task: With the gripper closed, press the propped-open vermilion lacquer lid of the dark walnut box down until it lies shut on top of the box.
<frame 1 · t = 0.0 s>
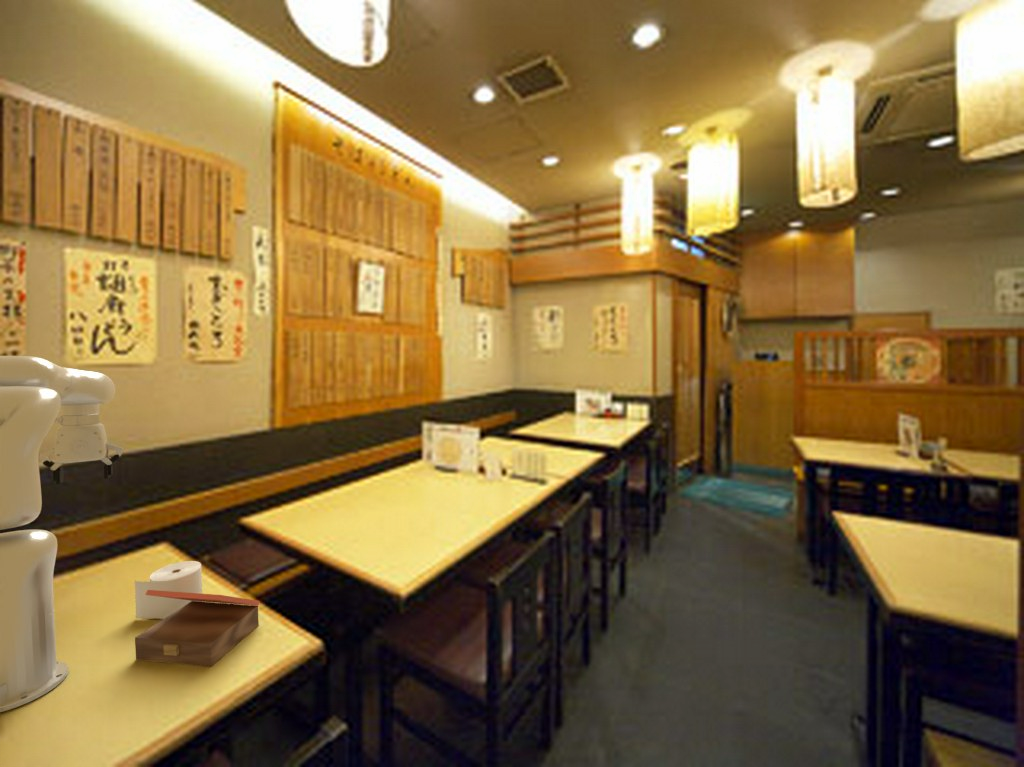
hand: (84, 480, 118), 31 cm above the table, tool pointing down, fingers open, 9 cm apart
lid: (205, 598, 97), point 9 cm above the table, hinge at 35.0°
toilet tissue: (174, 609, 109), on the table
walnut box: (201, 641, 96), on the table
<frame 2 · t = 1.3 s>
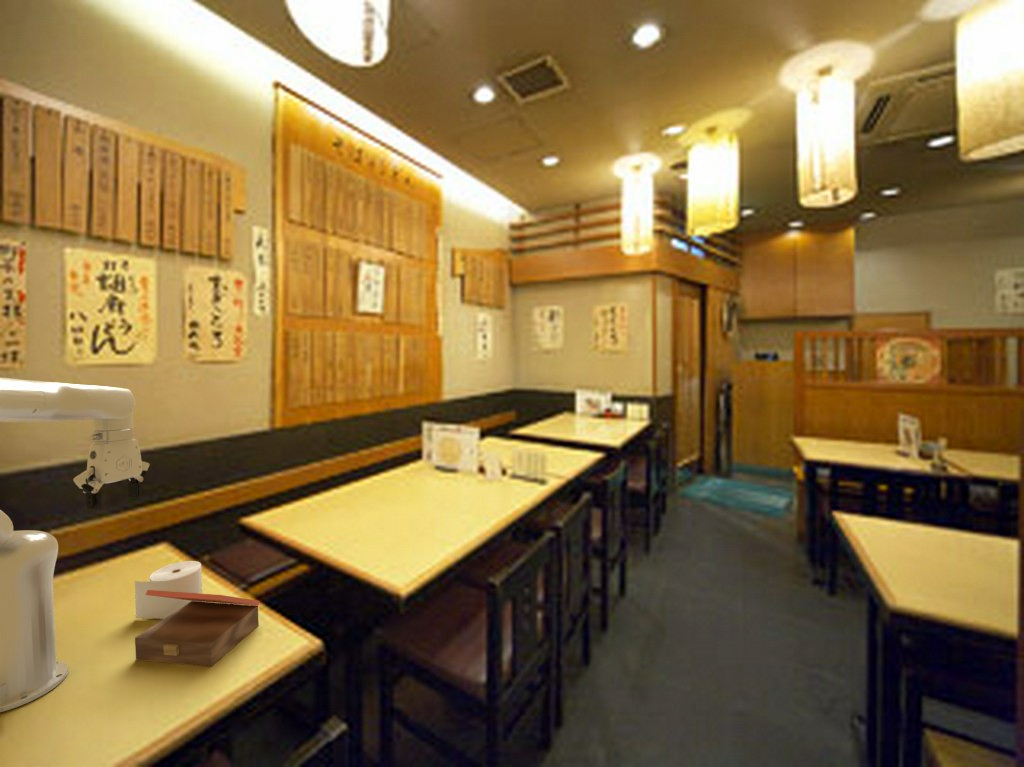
hand: (115, 502, 107), 29 cm above the table, tool pointing down, fingers open, 9 cm apart
nothing on the table moved.
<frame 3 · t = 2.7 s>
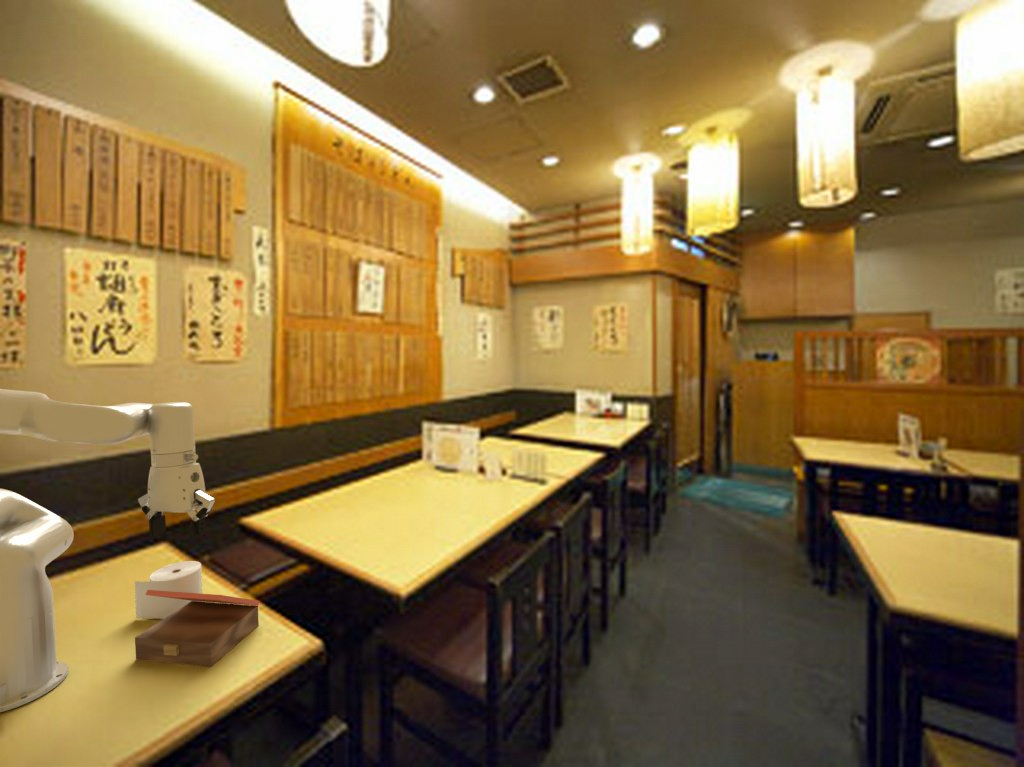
hand: (178, 535, 91), 27 cm above the table, tool pointing down, fingers open, 9 cm apart
nothing on the table moved.
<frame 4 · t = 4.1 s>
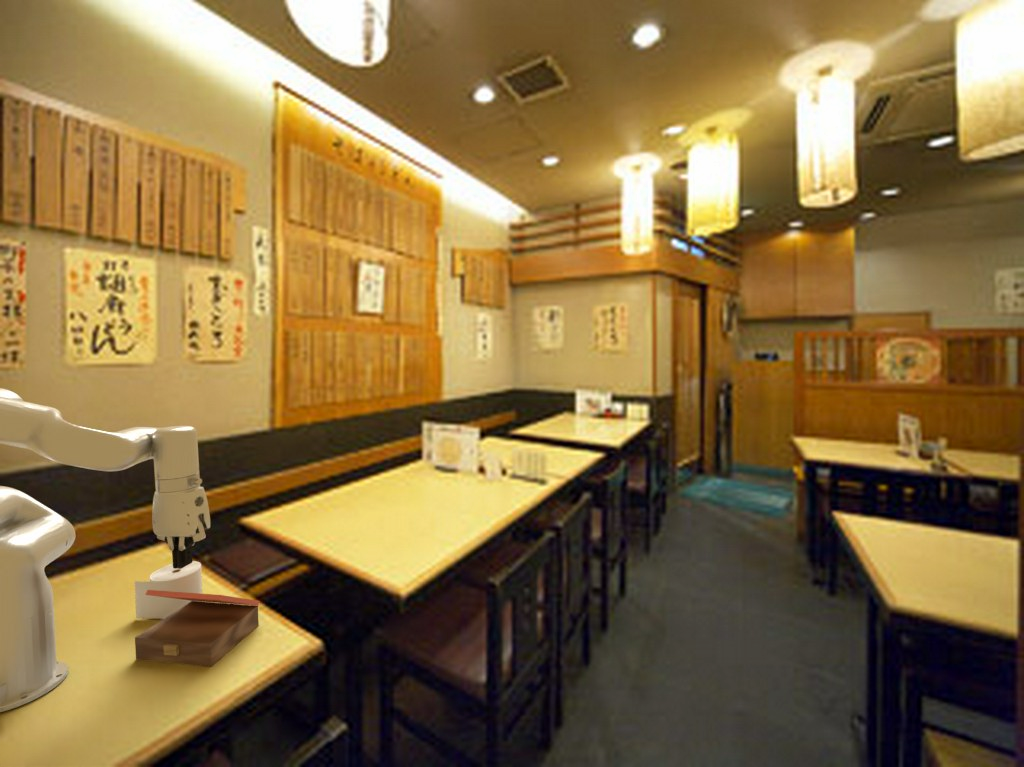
hand: (183, 565, 91), 20 cm above the table, tool pointing down, fingers closed
nothing on the table moved.
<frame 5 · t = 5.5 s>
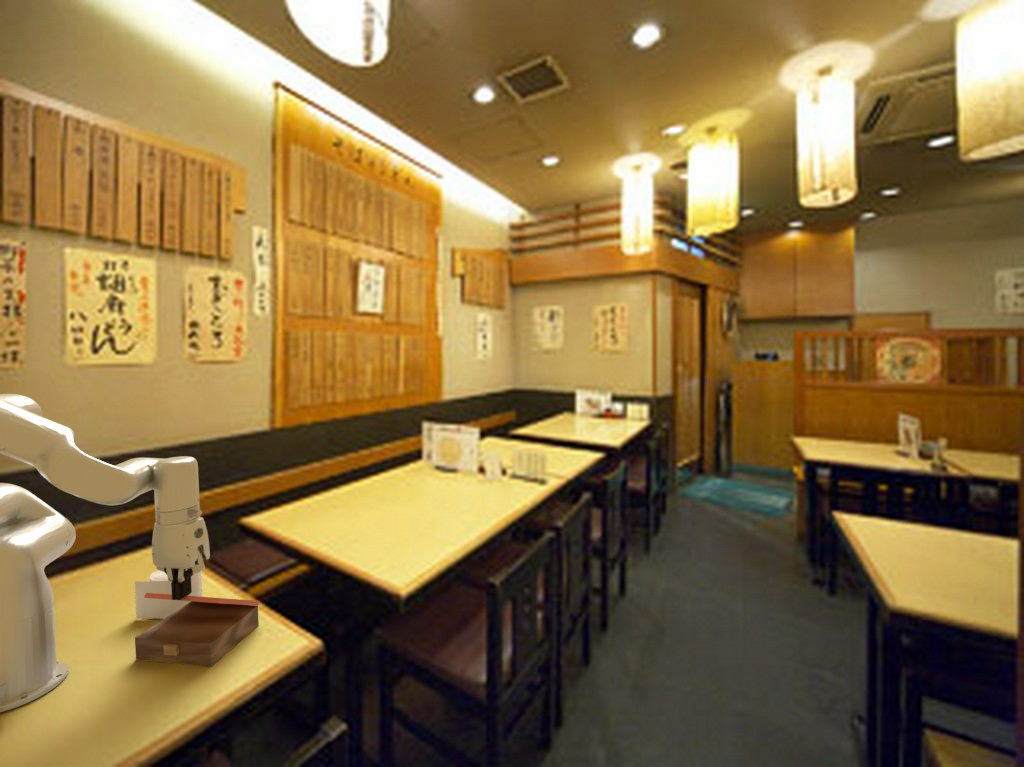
hand: (182, 596, 91), 13 cm above the table, tool pointing down, fingers closed
lid: (204, 599, 97), point 9 cm above the table, hinge at 32.5°, touching gripper
everything else where it was.
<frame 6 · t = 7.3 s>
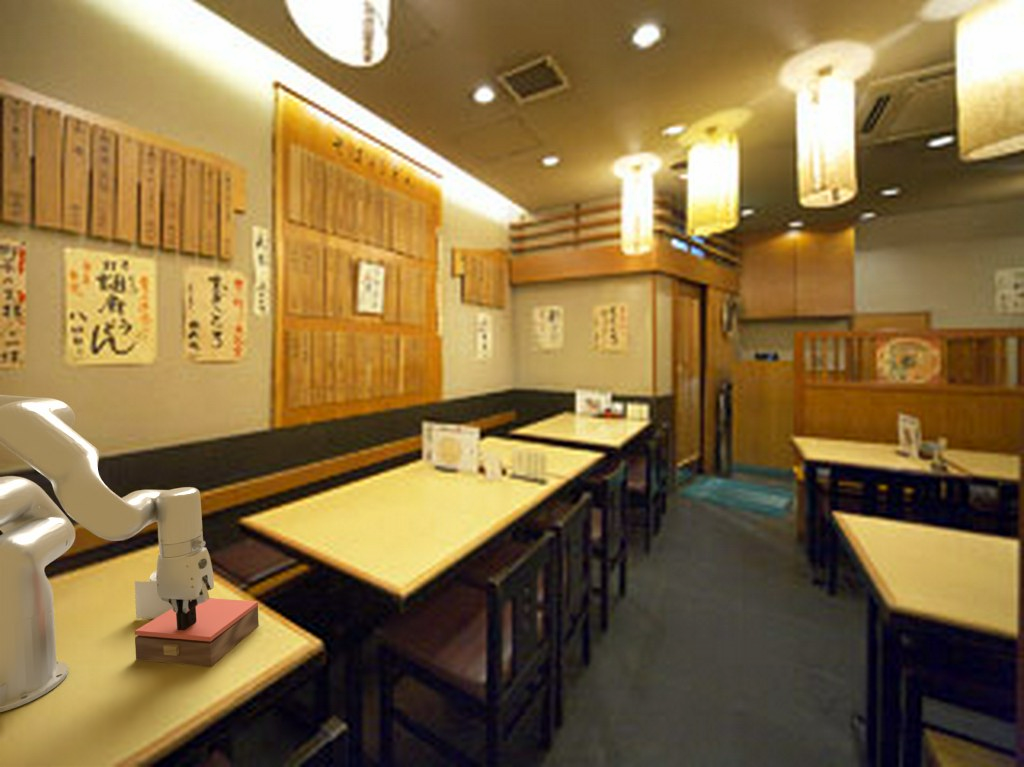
hand: (187, 626, 92), 6 cm above the table, tool pointing down, fingers closed
lid: (200, 617, 96), point 6 cm above the table, hinge at 1.9°, touching gripper
everything else where it was.
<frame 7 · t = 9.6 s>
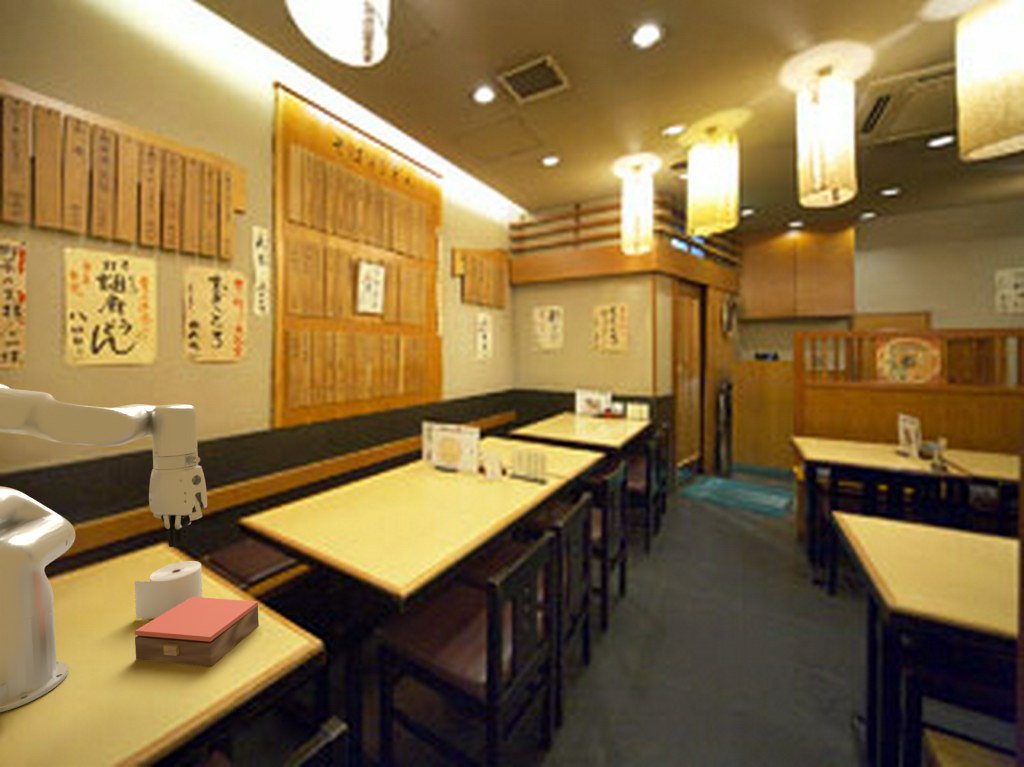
hand: (178, 544, 91), 25 cm above the table, tool pointing down, fingers closed
lid: (200, 617, 96), point 6 cm above the table, hinge at 1.9°
everything else where it was.
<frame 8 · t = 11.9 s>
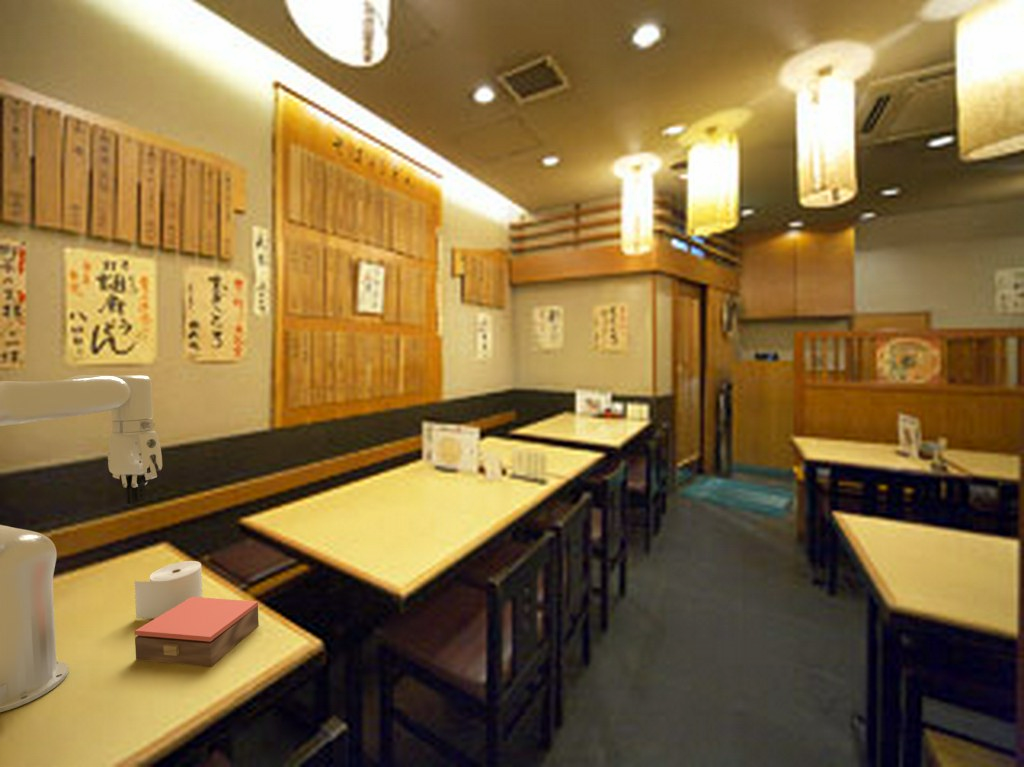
hand: (135, 502, 100), 31 cm above the table, tool pointing down, fingers closed
nothing on the table moved.
at the end: lid at +2° (first picture: +35°) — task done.
